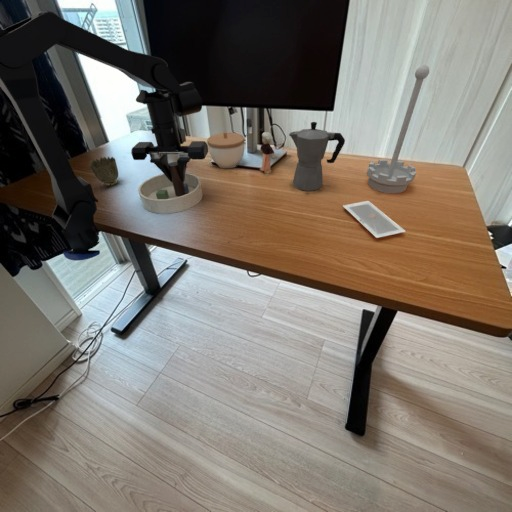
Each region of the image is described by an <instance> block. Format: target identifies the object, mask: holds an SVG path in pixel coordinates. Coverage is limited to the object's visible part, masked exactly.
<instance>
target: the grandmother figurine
mask: <svg viewBox="0 0 512 512" xmlns="http://www.w3.org/2000/svg"><path fill="white" fill-rule="evenodd" d="M272 140H273V136H272V134H271V133H270V132H268V131H264V132H263V133H262V134H261V142H262V144H261V146H260V147H259V148H260V151H259V153H260V154H262V161H261V167H260V168H259V171H261V172H263V173H264V174H267V175H268V174H271V173H272V169H271V159H272V160H275V159H276V158H275V157H276V156H275V151H274V149H273V147H272V146H271V144H270V143H271V142H272Z"/></svg>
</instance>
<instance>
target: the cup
mask: <svg viewBox="0 0 512 512" xmlns="http://www.w3.org/2000/svg"><path fill="white" fill-rule="evenodd" d="M88 166H89V167H90V169H91V170H92V172H93V175H94V176H95V177H96V179H97V180H98V181H100V182H101V183H104V185H105V186H106V187H107V188H110V187H114V186H116V185H117V184H118V181H117V180H118V178H119V169H118V165H117V161H116V158H115V157H113V156H111V157H109V156H107V157H105V156H104V157H100V158H99V159H98V158H95V160H94V159H92V160H90V161H89V163H88Z"/></svg>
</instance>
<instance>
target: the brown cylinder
mask: <svg viewBox="0 0 512 512" xmlns="http://www.w3.org/2000/svg"><path fill="white" fill-rule="evenodd" d="M168 167H169V171H170V175H171V179H172V183H173V187H174V191H175V195H176V196H178V197H180V196H183V195H185V194H186V191H185V187H184V182H182V180H181V177H180V172H179V168H178V164H177V162H171V163H169V164H168Z"/></svg>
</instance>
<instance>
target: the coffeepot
mask: <svg viewBox="0 0 512 512" xmlns="http://www.w3.org/2000/svg"><path fill="white" fill-rule="evenodd" d="M317 125H318V122H316V121H312V122H310V128H306V129H305V128H304V129H300V130H297V131H296V130H295V131H291V132H289V134H288V136H289V137H290V138H291V140H292V142H293V144H294V145H295V148H296V156H297V159H298V160H297V163H296V167H295V171H294V175H293V180H292V184H293V187H294V188H295V189H297V190H300V191H304V192H312V191H313V192H315V191H317V190H319V189H320V188H322V187H323V183H324V182H323V181H324V180H323V165H322V160H323V159H324V157H325V154H326V151H327V147H328V145H329V144H328V143H329V142H332V141H337V142H338V143H337V144H336V145H335V150H334V151H333V152H332V154H331V155H332V156H331V158H330V159H326V163H327V164H334V163H335V162H336V160H337V158H338V156H339V154H340V153H341V150H342V149H343V147H344V145H345V144H346V139H345V137H344V136H343V134H342V133H341V132H332V131H331V132H328V131H327V130H324V129H319V128H317Z"/></svg>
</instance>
